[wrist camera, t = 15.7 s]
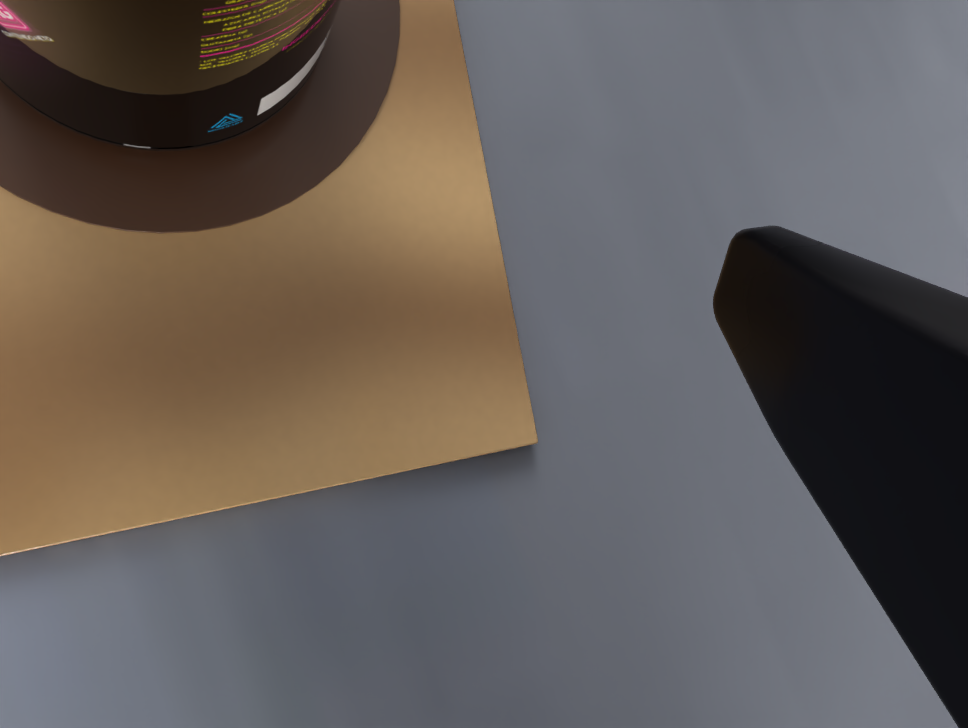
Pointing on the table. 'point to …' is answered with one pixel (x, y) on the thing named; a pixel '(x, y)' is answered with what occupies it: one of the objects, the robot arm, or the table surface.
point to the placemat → (255, 297)
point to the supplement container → (161, 65)
